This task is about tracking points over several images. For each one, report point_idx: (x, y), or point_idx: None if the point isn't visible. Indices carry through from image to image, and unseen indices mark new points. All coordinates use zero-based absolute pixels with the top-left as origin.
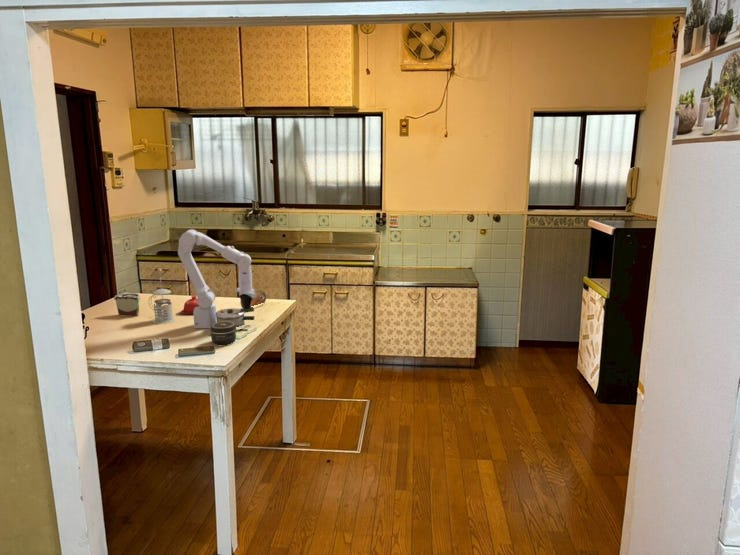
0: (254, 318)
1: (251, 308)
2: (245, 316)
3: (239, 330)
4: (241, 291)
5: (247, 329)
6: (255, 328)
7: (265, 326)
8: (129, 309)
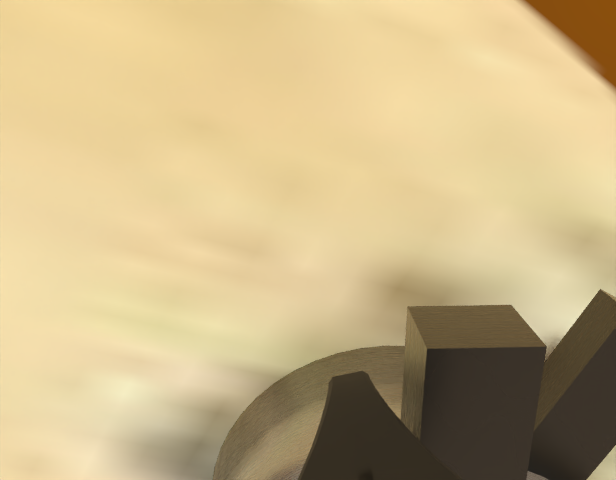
0: (600, 290)
1: (534, 397)
2: (541, 450)
3: None
4: None
5: None
6: (588, 243)
7: (595, 81)
8: None
